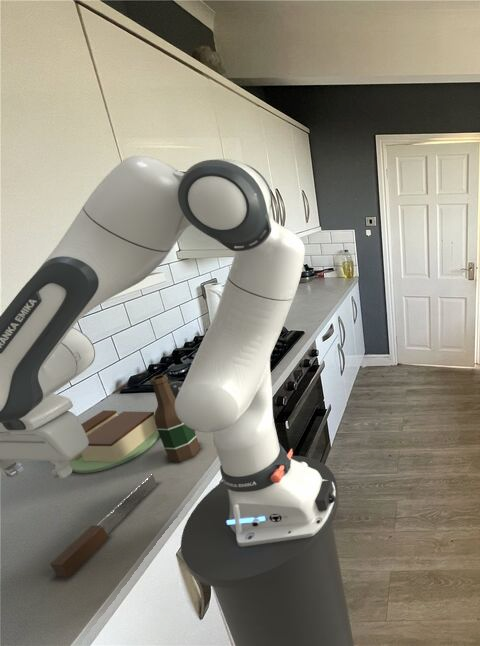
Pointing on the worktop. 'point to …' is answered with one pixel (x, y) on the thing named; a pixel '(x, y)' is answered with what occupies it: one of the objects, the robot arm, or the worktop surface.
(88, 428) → the cake slice
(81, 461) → the cake
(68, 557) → the knife
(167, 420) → the beer bottle
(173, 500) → the worktop surface
